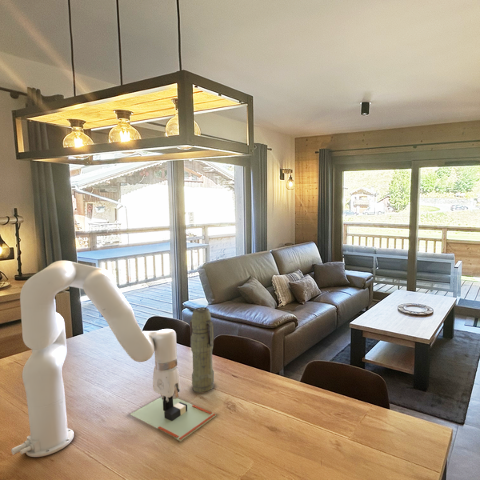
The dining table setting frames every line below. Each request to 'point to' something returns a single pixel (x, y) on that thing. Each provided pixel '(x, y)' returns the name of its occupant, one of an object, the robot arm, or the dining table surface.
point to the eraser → (175, 411)
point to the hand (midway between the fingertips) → (168, 409)
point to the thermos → (202, 349)
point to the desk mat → (180, 425)
